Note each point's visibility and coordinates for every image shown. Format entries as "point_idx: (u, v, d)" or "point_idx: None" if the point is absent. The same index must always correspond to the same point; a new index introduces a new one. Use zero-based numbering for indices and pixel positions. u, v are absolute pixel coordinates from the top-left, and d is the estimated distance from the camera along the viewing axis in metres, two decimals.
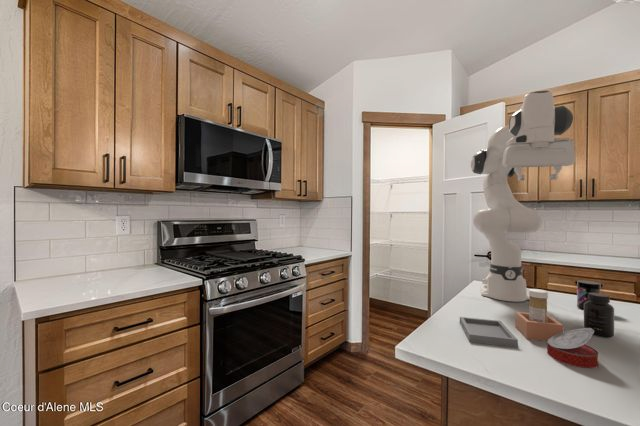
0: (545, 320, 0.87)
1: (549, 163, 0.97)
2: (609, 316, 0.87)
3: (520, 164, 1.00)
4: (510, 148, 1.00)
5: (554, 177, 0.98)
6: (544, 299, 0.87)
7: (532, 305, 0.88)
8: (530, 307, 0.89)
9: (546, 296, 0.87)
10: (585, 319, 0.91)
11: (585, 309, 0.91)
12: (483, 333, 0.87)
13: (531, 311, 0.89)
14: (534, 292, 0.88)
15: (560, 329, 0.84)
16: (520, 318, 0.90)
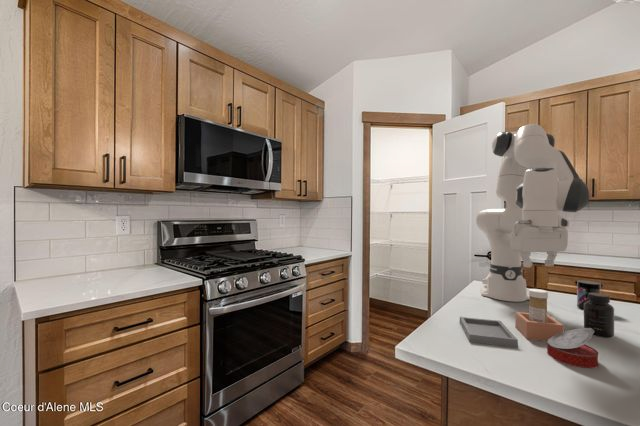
0: (545, 320, 0.87)
1: None
2: (609, 316, 0.87)
3: None
4: None
5: None
6: (544, 299, 0.87)
7: (532, 305, 0.88)
8: (530, 307, 0.89)
9: (546, 296, 0.87)
10: (585, 319, 0.91)
11: (585, 309, 0.91)
12: (483, 333, 0.87)
13: (531, 311, 0.89)
14: (534, 292, 0.88)
15: (560, 329, 0.84)
16: (520, 318, 0.90)
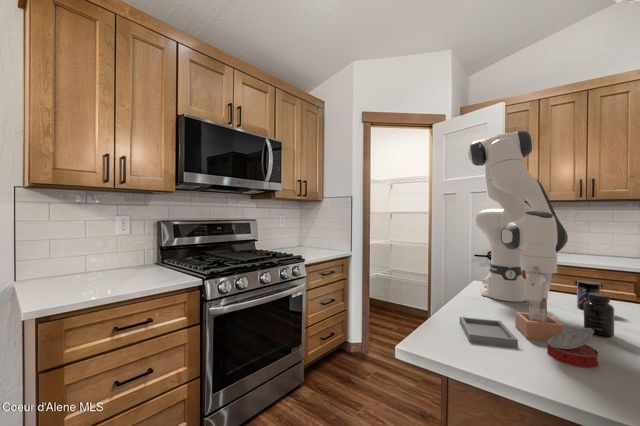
0: (545, 320, 0.87)
1: None
2: (609, 316, 0.87)
3: None
4: None
5: None
6: (544, 299, 0.87)
7: None
8: (530, 307, 0.89)
9: (546, 296, 0.87)
10: (585, 319, 0.91)
11: (585, 309, 0.91)
12: (483, 333, 0.87)
13: (531, 311, 0.89)
14: None
15: (560, 329, 0.84)
16: (520, 318, 0.90)
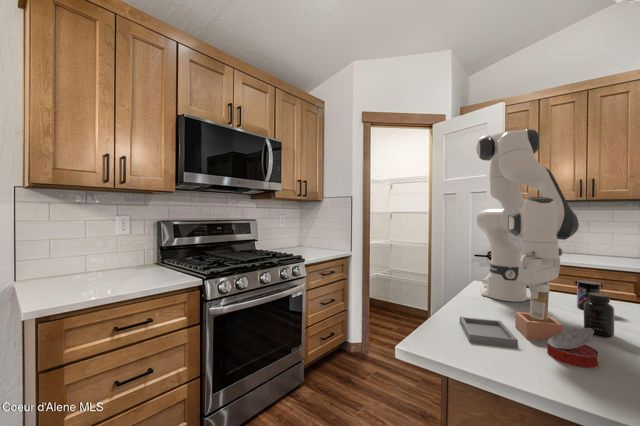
0: (545, 314, 0.87)
1: None
2: (609, 316, 0.87)
3: None
4: None
5: None
6: (544, 293, 0.87)
7: (532, 298, 0.89)
8: (531, 300, 0.90)
9: (547, 290, 0.87)
10: (585, 319, 0.91)
11: (585, 309, 0.91)
12: (483, 333, 0.87)
13: (531, 304, 0.89)
14: None
15: (560, 329, 0.84)
16: (520, 318, 0.90)
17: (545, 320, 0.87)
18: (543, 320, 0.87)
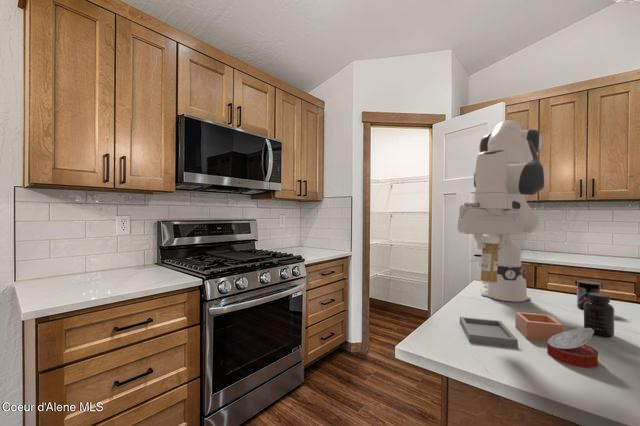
0: (491, 265, 0.87)
1: None
2: (609, 316, 0.87)
3: None
4: None
5: None
6: (490, 244, 0.87)
7: (482, 250, 0.90)
8: None
9: (493, 241, 0.87)
10: (585, 319, 0.91)
11: (585, 309, 0.91)
12: (483, 333, 0.87)
13: None
14: (483, 237, 0.89)
15: (560, 329, 0.84)
16: (520, 318, 0.90)
17: (492, 272, 0.87)
18: (489, 271, 0.87)
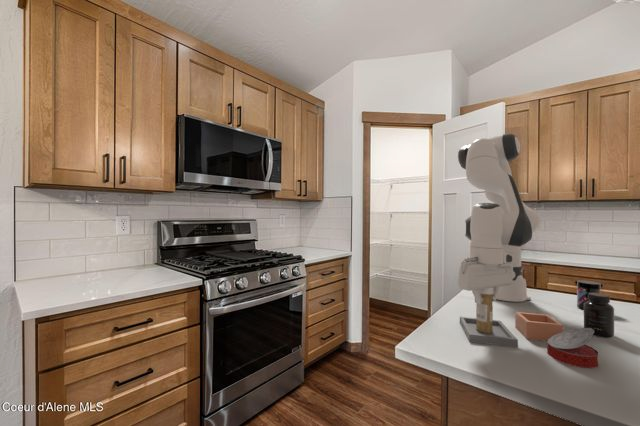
0: (488, 316, 0.87)
1: None
2: (609, 316, 0.87)
3: None
4: None
5: None
6: (486, 295, 0.87)
7: None
8: None
9: (489, 292, 0.87)
10: (585, 319, 0.91)
11: (585, 309, 0.91)
12: (483, 333, 0.87)
13: (476, 306, 0.90)
14: None
15: (560, 329, 0.84)
16: (520, 318, 0.90)
17: (488, 322, 0.87)
18: (486, 322, 0.87)
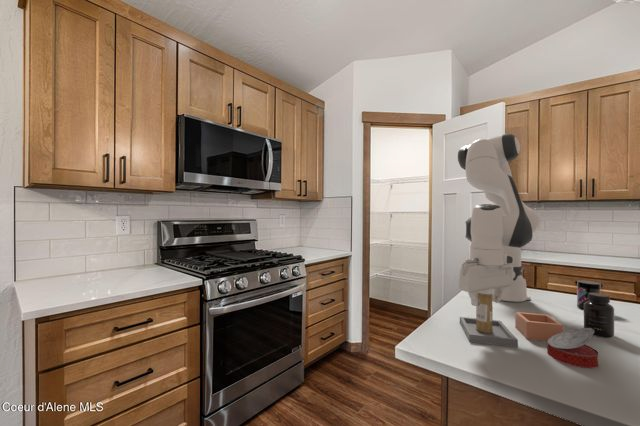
0: (488, 316, 0.87)
1: None
2: (609, 316, 0.87)
3: None
4: None
5: None
6: (486, 295, 0.87)
7: None
8: None
9: (489, 292, 0.87)
10: (585, 319, 0.91)
11: (585, 309, 0.91)
12: (483, 333, 0.87)
13: (476, 306, 0.90)
14: None
15: (560, 329, 0.84)
16: (520, 318, 0.90)
17: (488, 322, 0.87)
18: (486, 322, 0.87)
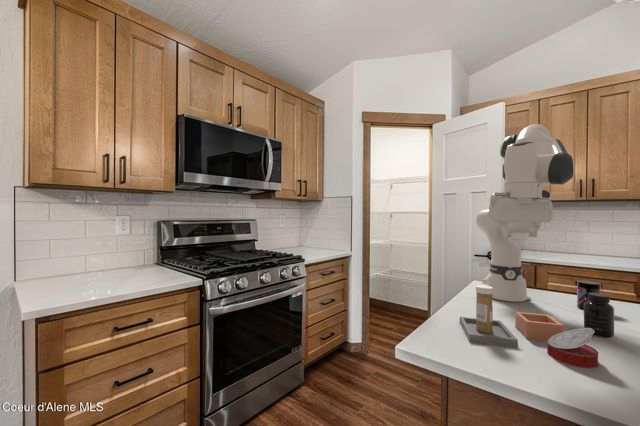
0: (488, 316, 0.87)
1: None
2: (609, 316, 0.87)
3: None
4: None
5: None
6: (486, 295, 0.87)
7: (476, 300, 0.90)
8: (476, 302, 0.91)
9: (489, 292, 0.87)
10: (585, 319, 0.91)
11: (585, 309, 0.91)
12: (483, 333, 0.87)
13: (476, 306, 0.90)
14: (477, 287, 0.89)
15: (560, 329, 0.84)
16: (520, 318, 0.90)
17: (488, 322, 0.87)
18: (486, 322, 0.87)
